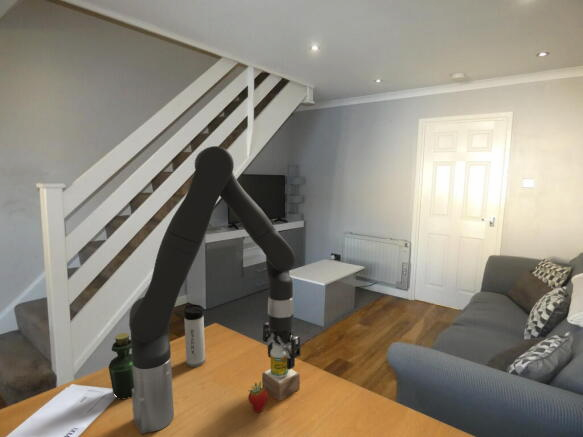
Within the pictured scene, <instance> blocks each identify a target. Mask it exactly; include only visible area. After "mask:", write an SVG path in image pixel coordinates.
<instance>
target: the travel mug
mask: <svg viewBox="0 0 583 437" xmlns="http://www.w3.org/2000/svg"><path fill="white" fill-rule="evenodd" d="M183 310H184V311H183V314H184V318H183V321H184V336H185V338H184V342H185V359H186V360H185V361H186V362H185V363H186V365H187V366H188V367H190V368H196V367H200V366H202V365H203V364H204V363H205V362H206V350H205V349H206V348H205V346H206V345H205V343H206V342H205V324H204V321H205V320H204V318H205V317H204V307H203V306H202V305H201V304H200V305H199V304H191V303H189V304H186V305H185V306H184V309H183Z"/></svg>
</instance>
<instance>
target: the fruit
mask: <svg viewBox="0 0 583 437" xmlns="http://www.w3.org/2000/svg"><path fill="white" fill-rule="evenodd" d="M264 388H265V387H264ZM264 388H262V381H259V383H257V382H254V386H252V385H251V389H250V390H248V392H249V393H248V398H247V399H248V401H249V403H250V404H251V406H252V409H253V410H254V412H255V413H261V412H262V411H263V409H264V408H265V405H267V401H268V397H269V396H268V394H269V393H268V392H267V391H266V390H265V389H264Z"/></svg>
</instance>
